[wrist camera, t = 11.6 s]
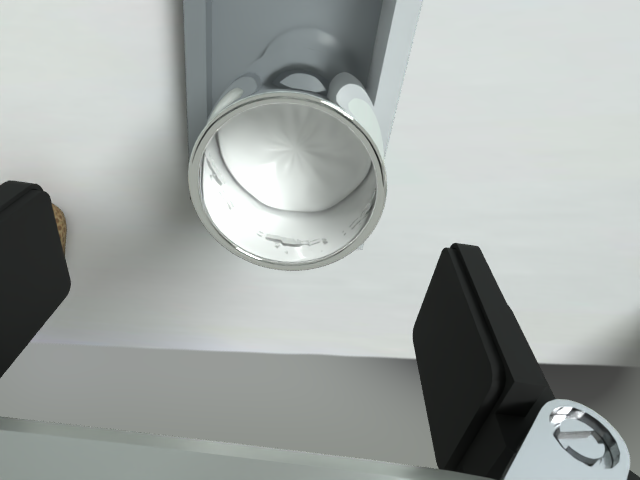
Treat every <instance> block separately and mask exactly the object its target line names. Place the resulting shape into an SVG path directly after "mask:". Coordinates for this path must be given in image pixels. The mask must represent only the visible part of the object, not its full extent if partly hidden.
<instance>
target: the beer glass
mask: <svg viewBox="0 0 640 480" xmlns="http://www.w3.org/2000/svg"><path fill="white" fill-rule="evenodd" d="M188 185H189V192H190V196H191V200H192V203H193V206H194V208H195V211H196V213H197V215H198V217H199V219H200V220H201V222H202V224H203V225H204V226H205V228H206V229H207V231H208V232H209V233H210V234H211V235H212V236H213V237H214V238H215V239H216V240H217V241H218V242H219V243H220V244H221V245H222V246H223V247H225V248H226V249H227V250H229V251H230V252H232V253H233V254H235V255H236V256H238V257H240V258H242V259H244V260H246V261H248V262H251V263H253V264H256V265H259V266H262V267H266V268H271V269H277V270H286V271H299V270H309V269H314V268H319V267H322V266H326V265H329V264H331V263H334V262H336V261H338V260H340V259H342V258H344V257H346V256H347V255H349V254H350V253H352V252H353V251H354V250H356V249H357V248H358V247H359V246H360V245H361V244H362V243H364V241H365V240H366V239H367V238H368V237H369V236H370V234H371V233H372V232H373V230H374V229H375V227H376V225H377V224H378V222H379V220H380V217H381V215H382V212H383V209H384V206H385V202H386V196H387V175H386V169H385V163H384V149H383V140H382V134H381V130H380V125H379V120H378V117H377V114H376V111H375V109H374V106H373V104H372V101H371V99H370V97H369V95H368V93H367V91H366V89H365V88H364V86H363V85H362V83H361V82H360V81H359V80H358V78H357V77H356V72H355V67H354V63H353V60H352V58H351V56H350V54H349V52H348V50H347V49H346V47H345V46H344V45H343V44H342V43H341V42H340V41H339V40H338V39H337V38H335V37H334V36H333V35H331V34H330V33H328V32H326V31H324V30H321V29H317V28H312V27H300V28H294V29H291V30H288V31H286V32H284V33H282V34H281V35H279V36H278V37H276V38H275V39H274V40H273V41H272V42H271V43H270V44H269V46H268V47H267V48H266V50H265V52H264V53H263V56H262V57H261V58H259V59H257V60H255V61H254V62H252V63H250V64H249V65H248V66H246V67H245V68H244V69H243V70H242V71H241V72H240V73H239V74H238V75H237V76H236V77H235V78H234V79H233V80H232V81H231V82H230V83H229V84H228V86H227V87H226V88H225V90H224V91H223V93H222V94H221V96H220V97H219V99H218V101H217V102H216V104H215V105H214V107H213V109H212V111H211V113H210V115H209V117H208V119H207V122H206V124H205V126H204V128H203V131H202V132H201V134H200V135H199V137H198V139H197V141H196V143H195V145H194V147H193V150H192V153H191V157H190V162H189V168H188Z"/></svg>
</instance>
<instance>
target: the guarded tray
mask: <svg viewBox="0 0 640 480" xmlns="http://www.w3.org/2000/svg"><path fill="white" fill-rule="evenodd" d="M422 2H423V0H183V13H184V41H185V68H186V95H187V123H188V150H189V162H190V157H191V153H192V150H193V147H194V145H195V143H196V141H197V139H198V137H199V135H200V134H201V132H202V131H203V128H204V126H205V124H206V122H207V119H208V117H209V115H210V113H211V111H212V109H213V107H214V105H215V104H216V102H217V101H218V99H219V97H220V96H221V94H222V93H223V91H224V90H225V88H226V87H227V86H228V84H229V83H230V82H231V81H232V80H233V79H234V78H235V77H236V76H237V75H238V74H239V73H240V72H241V71H242V70H243V69H244V68H245V67H246V66H248V65H249V64H250V63H252V62H254V61H255V60H257V59H259V58H261V57H262V56H263V53H264V52H265V50H266V48H267V47H268V46H269V44H270V43H271V42H272V41H273V40H274V39H275V38H276V37H278V36H279V35H281V34H282V33H284V32H286V31H288V30H291V29H294V28H300V27H312V28H317V29H321V30H324V31H326V32H328V33H330V34H331V35H333V36H334V37H335V38H337V39H338V40H339V41H340V42H341V43H342V44H343V45H344V46H345V47H346V49H347V50H348V52H349V54H350V56H351V58H352V60H353V63H354V67H355V72H356V77H357V78H358V80H359V81H360V82H361V83H362V85H363V86H364V88H365V89H366V91H367V93H368V95H369V97H370V99H371V101H372V104H373V106H374V109H375V111H376V114H377V117H378V120H379V125H380V130H381V134H382V140H383V149H384V159H385V154H386V150H387V146H388V142H389V138H390V134H391V130H392V126H393V122H394V118H395V113H396V109H397V105H398V101H399V97H400V93H401V89H402V85H403V81H404V76H405V72H406V68H407V64H408V60H409V56H410V52H411V48H412V44H413V39H414V35H415V31H416V27H417V23H418V19H419V15H420V11H421V7H422ZM190 199H191V196H190ZM363 245H364V243H362V244H361V245H360V246H359V247H358V248H357V249H360V250H362V249H363Z"/></svg>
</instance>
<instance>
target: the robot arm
mask: <svg viewBox="0 0 640 480" xmlns="http://www.w3.org/2000/svg"><path fill="white" fill-rule="evenodd" d="M70 286H71V281H70V277H69V272H68V268H67V264H66V260H65V256H64V252H63V248H62V244H61V240H60V236H59V232H58V227H57V223H56V219H55V215H54V211H53V207H52V203H51V199H50V196H49V194H48V193H47V192H45V191H43V189H42V188H41V187H40V186H39V185H37V184H32V183H25V182H18V181H7V182H5V183H3V184H2V185H0V378H1V377H2V375H3V374H4V373H5V372H6V370H7V369H8V368H9V367H10V365H11V364H12V363H13V362H14V360H15V359H16V358H17V357H18V356H19V354H20V353H21V352H22V351H23V349H24V348H25V347H26V346H27V345H28V343H29V342H30V341H31V340H32V338H33V337H34V336H35V335H36V333H37V332H38V331H39V330H40V328H41V327H42V326H43V325H44V324H45V322H46V321H47V320H48V319H49V317H50V316H51V315H52V314H53V312H54V311H55V310H56V309H57V307H58V306H59V305H60V304H61V303H62V301H63V300H64V299H65V298H66V296H67V295H68V293H69V290H70ZM413 344H414V349H415V354H416V359H417V364H418V369H419V374H420V380H421V385H422V390H423V395H424V400H425V405H426V411H427V416H428V421H429V425H430V431H431V436H432V442H433V447H434V451H435V457H436V462H437V466H438V468H439V469H434V468H426V467H419V466H411V465H405V464H397V463H389V462H383V461H376V460H368V459H360V458H352V457H344V456H336V455H327V454H318V453H311V452H302V451H294V450H286V449H278V448H268V447H261V446H252V445H244V444H235V443H228V442H219V441H210V440H202V439H193V438H184V437H176V436H167V435H159V434H150V433H141V432H132V431H124V430H114V429H105V428H98V427H89V426H80V425H71V424H62V423H53V422H44V421H35V420H25V419H17V418H8V417H0V480H640V477H638V476H637V475H636V474H634V473H633V472H632V471H630V470H629V469H630V454H629V452H628V449H627V446H626V444H625V442H624V441H623V439H622V438H621V436H620V435H619V433H618V432H617V430H615V428H614V427H613V426H612V425H611V424H610V423H609V422H608V421H607V420H606V419H604V418H603V417H602V416H600V415H599V414H597V413H596V412H595V411H594V410H592V409H590V408H588V407H586V406H584V405H582V404H580V403H577V402H573V401H570V400H564V399H555V397H554V395H553V393H552V391H551V389H550V387H549V385H548V383H547V381H546V379H545V377H544V375H543V373H542V371H541V369H540V367H539V364H538V362H537V360H536V358H535V356H534V354H533V352H532V350H531V348H530V346H529V344H528V342H527V340H526V338H525V336H524V334H523V332H522V330H521V328H520V326H519V324H518V322H517V320H516V318H515V316H514V314H513V312H512V310H511V309H510V307H509V306H508V305H507V303H506V301H505V299H504V297H503V295H502V293H501V291H500V289H499V287H498V285H497V282H496V280H495V278H494V276H493V274H492V272H491V270H490V268H489V266H488V264H487V262H486V260H485V258H484V256H483V254H482V252H481V250H480V248H479V247H478V246H473V245H466V244H459V243H454V244H452V245H451V247H450V248H444V249H443V250H442V252H441V255H440V258H439V260H438V263H437V266H436V268H435V271H434V274H433V276H432V279H431V282H430V284H429V287H428V290H427V293H426V295H425V298H424V301H423V303H422V306H421V309H420V311H419V314H418V317H417V319H416V322H415V325H414V328H413Z"/></svg>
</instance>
